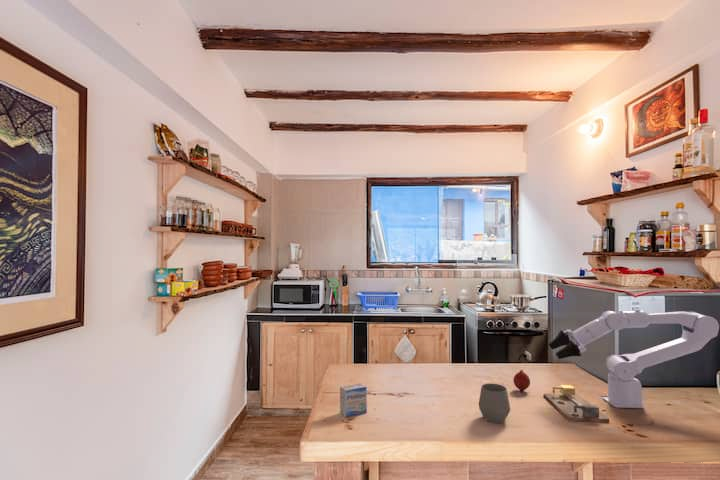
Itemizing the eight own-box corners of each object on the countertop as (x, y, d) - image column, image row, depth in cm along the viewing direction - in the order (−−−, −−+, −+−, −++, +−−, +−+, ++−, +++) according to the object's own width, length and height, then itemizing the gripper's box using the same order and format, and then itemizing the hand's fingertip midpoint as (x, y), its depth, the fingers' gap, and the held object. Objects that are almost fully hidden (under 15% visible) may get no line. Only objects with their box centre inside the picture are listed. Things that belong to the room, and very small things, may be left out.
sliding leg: (571, 392, 140) (570, 385, 140) (575, 395, 137) (575, 388, 137) (550, 391, 141) (550, 384, 141) (554, 394, 138) (554, 387, 138)
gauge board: (577, 397, 140) (577, 386, 141) (609, 422, 120) (609, 409, 121) (543, 396, 141) (543, 385, 141) (569, 421, 121) (569, 408, 121)
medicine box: (345, 418, 124) (345, 390, 124) (339, 412, 128) (339, 386, 128) (367, 413, 128) (367, 386, 128) (360, 408, 132) (360, 382, 132)
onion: (531, 394, 143) (531, 372, 143) (515, 393, 144) (515, 371, 145) (528, 388, 149) (528, 367, 149) (512, 387, 150) (512, 366, 150)
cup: (506, 428, 116) (506, 395, 117) (475, 421, 121) (475, 389, 122) (512, 417, 124) (512, 385, 125) (483, 410, 129) (482, 380, 130)
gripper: (574, 316, 145) (541, 334, 148) (591, 332, 130) (554, 351, 134) (585, 331, 145) (551, 349, 148) (602, 348, 131) (565, 368, 134)
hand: (553, 351), depth 141 cm, fingers open, 7 cm apart
